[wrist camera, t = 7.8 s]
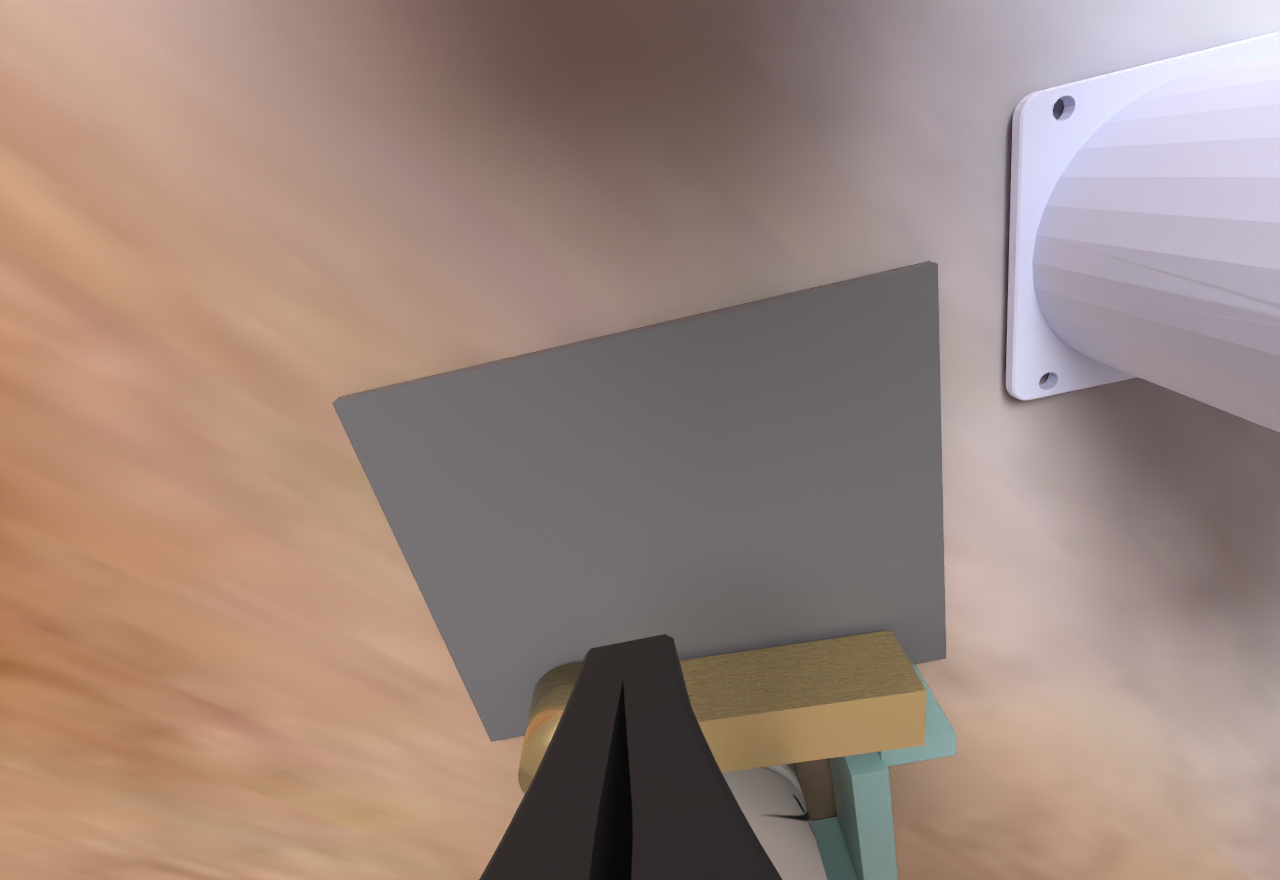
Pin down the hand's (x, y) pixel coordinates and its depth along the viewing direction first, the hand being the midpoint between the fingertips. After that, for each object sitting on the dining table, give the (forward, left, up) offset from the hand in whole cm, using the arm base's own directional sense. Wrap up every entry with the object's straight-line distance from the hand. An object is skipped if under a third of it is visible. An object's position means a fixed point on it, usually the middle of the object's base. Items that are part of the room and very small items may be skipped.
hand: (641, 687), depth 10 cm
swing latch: (-1, +9, -9) cm, 13 cm away
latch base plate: (-1, +4, -9) cm, 10 cm away
